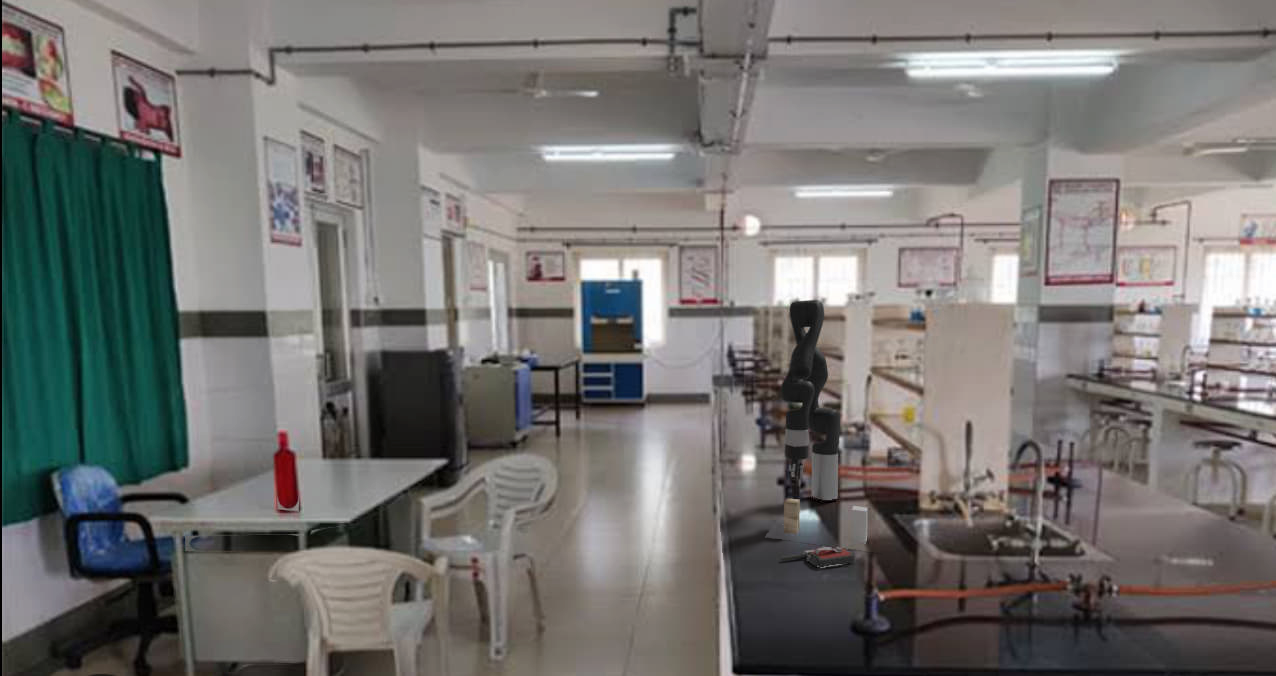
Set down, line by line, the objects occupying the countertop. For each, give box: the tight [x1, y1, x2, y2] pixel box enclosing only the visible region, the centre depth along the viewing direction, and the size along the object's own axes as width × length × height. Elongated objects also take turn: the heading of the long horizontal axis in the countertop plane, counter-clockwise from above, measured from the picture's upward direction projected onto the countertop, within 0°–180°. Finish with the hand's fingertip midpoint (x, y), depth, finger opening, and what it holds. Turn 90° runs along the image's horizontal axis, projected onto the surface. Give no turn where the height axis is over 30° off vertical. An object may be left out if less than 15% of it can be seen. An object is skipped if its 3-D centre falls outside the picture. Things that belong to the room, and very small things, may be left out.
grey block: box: [851, 505, 868, 544], centre depth 195 cm, size 4×4×10 cm
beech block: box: [783, 497, 801, 534], centre depth 203 cm, size 4×4×10 cm
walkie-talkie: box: [780, 546, 856, 567], centre depth 180 cm, size 9×4×20 cm
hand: (795, 496), depth 210 cm, fingers closed
